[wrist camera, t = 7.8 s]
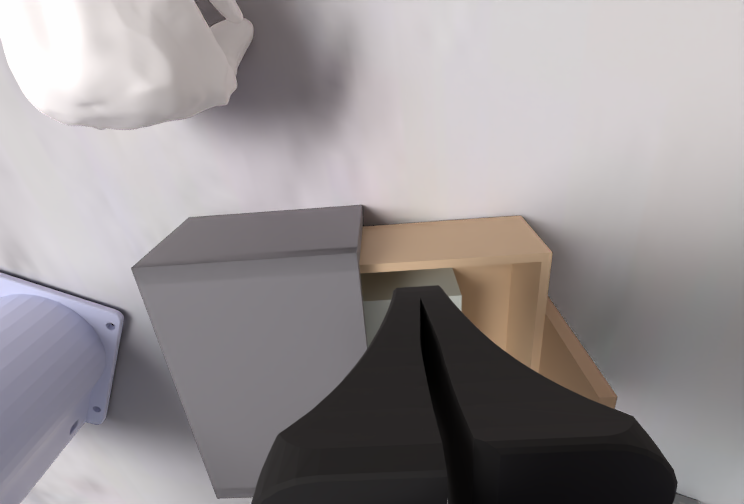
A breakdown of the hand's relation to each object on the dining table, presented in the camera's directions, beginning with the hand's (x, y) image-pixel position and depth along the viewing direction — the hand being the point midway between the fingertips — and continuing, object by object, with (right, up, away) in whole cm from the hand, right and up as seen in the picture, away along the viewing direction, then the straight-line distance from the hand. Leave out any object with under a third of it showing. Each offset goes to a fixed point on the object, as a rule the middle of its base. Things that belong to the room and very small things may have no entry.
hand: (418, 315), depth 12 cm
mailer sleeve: (-6, -2, +12) cm, 14 cm away
